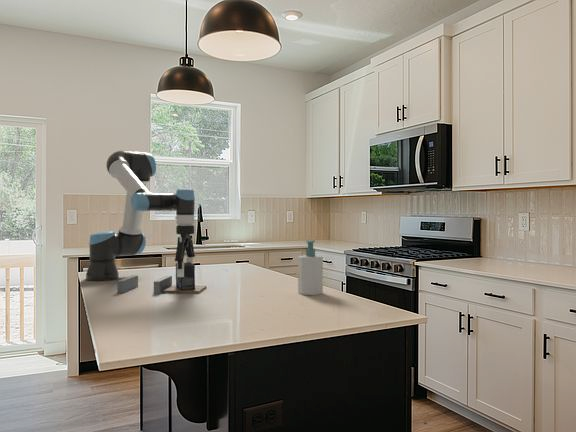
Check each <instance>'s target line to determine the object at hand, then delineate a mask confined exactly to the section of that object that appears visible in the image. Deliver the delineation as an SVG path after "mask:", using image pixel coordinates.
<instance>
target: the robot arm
mask: <svg viewBox="0 0 576 432" xmlns="http://www.w3.org/2000/svg"><path fill="white" fill-rule="evenodd" d="M156 162H157V161H156V159H155V157H154V156H153V155H152V154H151V153H150V152H143V151H130V150H128V151H127V150H118V151H115V152H113V153H112V154H110V155H109V156H108V158H107V161H106V171H107V172H108V174H109V175H110V176H111V177H112V178H114V179H116V180H117V181H118V182H119V184H120V185H121V186H122V188H124V190H125V191H126V197H125V204H124V211H123V212H124V213H123V220H122V226H121V227H119V228H118V233H116V232H115V230H104V231H98V232H94V233H91V234H90V235H89V243H88V245H89V265H88V267H87V271H86V274H85V280H87V281H110V280H116V279H119V278H120V277H119V274H120V273H119V271H118V267H117V264H116V257H126V256H137V255H140V254H142V253H143V251H144V250H145V248H146V243H147V242H146V241H147V240H146V235H145V233H143V230H142V228H141V223H142V218H143V217H142V216H143V212H145V211H146V212H150V211H151V212H153V211H155V212H156V211H159V212H160V211H161V212H163V211H164V212H167V211H168V212H173V211H174V212H175V213H176V216H175V221H176V227H175V228H176V229H175V230H176V231H175V232H176V234H177V235H180V236H179V237H177V243H176V244H177V245H176V252H175V258H174V262H176V263H177V277H184V263H187V262H190V263H191V264H193V265H194V258H196V257H195V256H196V254H195V250H194V241H193V235H194V234H195V226H194V224H195V199H196V198H195V191H194V189H193V188H177V190H176V192H175V193H164V192H163V193H162V192H161V193H157V192H156V193H155V192H154V193H153V192H151V191H150V190H149V189H148V188H147V186H146V185H147V183H149V182H150V180H151V178H152V177H154V176H155V174H156V171H157V163H156ZM185 254H186V257H185ZM184 257H185V258H184ZM184 259H186V262H185V260H184Z"/></svg>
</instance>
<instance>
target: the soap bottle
mask: <svg viewBox="0 0 576 432" xmlns="http://www.w3.org/2000/svg"><path fill="white" fill-rule="evenodd" d="M305 242H306V243H307V248H305V255H299V256H298V257H297V258H298V259H297V261H298V263H297V266H298V268H297V271H298V272H297V278H298V280H297V286H298V287H297V292H298V293H299V294H301V295H302V296H317V295H322V294H323V293H324V292H323V291H324V290H323V289H324V286H323V285H324V283H323V282H324V281H323V279H324V278H323V277H324V275H323V274H324V271H323V270H324V267H323V266H324V265H323V264H324V258H323V256H321V255H318V254H317V255H316V249H315V248H314V243H316V241H315V240H311V239H308V240H306V241H305Z"/></svg>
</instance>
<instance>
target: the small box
mask: <svg viewBox="0 0 576 432" xmlns="http://www.w3.org/2000/svg"><path fill="white" fill-rule="evenodd" d="M195 268H196V266H195V264H194V263H193V264H191V263H190V262H187V263H186V262H184V277H177V262H175V285H176V287H177V288H179V289H180V290H181V291H183V290H195V286H196V278H195V277H196V276H195V275H196V273H195V271H196V269H195Z"/></svg>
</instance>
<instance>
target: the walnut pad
mask: <svg viewBox="0 0 576 432" xmlns="http://www.w3.org/2000/svg"><path fill="white" fill-rule="evenodd" d="M206 289H207V285H195V290H183V291H181V290H180V289H179V288H177V287H176V284H175V285H173V284H172V286H171V287H169V288H167V289H165V290H164V291H163V292H162V293H163V294H193V295H194V294H200V293H202V292H203V291H204V290H206Z"/></svg>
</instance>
